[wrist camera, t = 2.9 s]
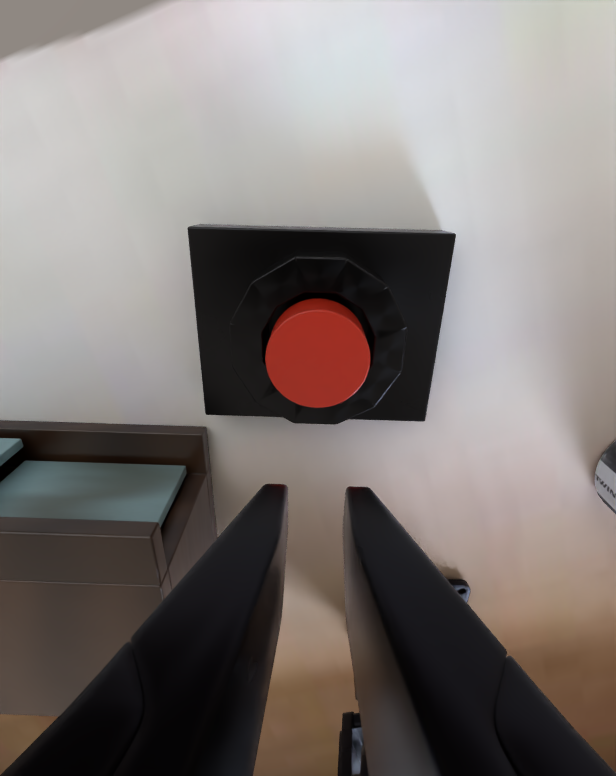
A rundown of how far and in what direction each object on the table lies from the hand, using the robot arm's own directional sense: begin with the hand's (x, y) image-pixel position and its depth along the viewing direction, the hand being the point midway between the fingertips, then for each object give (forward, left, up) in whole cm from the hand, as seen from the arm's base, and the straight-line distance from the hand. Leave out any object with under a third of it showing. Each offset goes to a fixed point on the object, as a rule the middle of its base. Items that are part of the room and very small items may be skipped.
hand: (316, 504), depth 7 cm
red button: (0, 0, -9) cm, 9 cm away
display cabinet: (+14, +11, -12) cm, 22 cm away
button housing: (0, 0, -12) cm, 12 cm away
